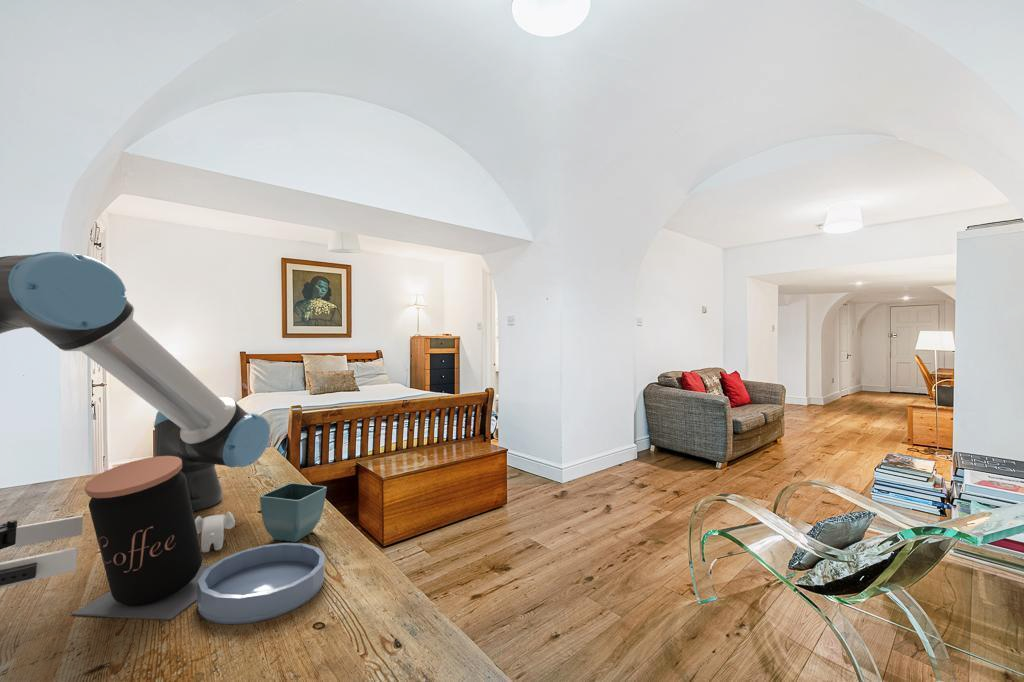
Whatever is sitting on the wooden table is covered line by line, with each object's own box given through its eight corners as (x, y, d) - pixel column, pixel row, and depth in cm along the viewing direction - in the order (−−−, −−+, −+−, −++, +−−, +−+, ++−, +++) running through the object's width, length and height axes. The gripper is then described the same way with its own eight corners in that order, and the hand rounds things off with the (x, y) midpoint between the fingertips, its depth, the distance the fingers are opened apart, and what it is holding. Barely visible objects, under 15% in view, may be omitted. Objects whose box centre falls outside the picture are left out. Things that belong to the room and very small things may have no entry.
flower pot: (296, 549, 79) (298, 500, 80) (256, 543, 81) (258, 495, 81) (326, 530, 88) (328, 486, 88) (289, 525, 90) (290, 482, 90)
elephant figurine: (234, 535, 84) (235, 504, 85) (233, 551, 78) (235, 518, 78) (191, 542, 81) (193, 510, 81) (187, 560, 74) (188, 526, 74)
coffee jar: (93, 616, 59) (60, 497, 55) (145, 563, 69) (120, 459, 66) (179, 603, 60) (152, 486, 57) (217, 553, 71) (197, 451, 67)
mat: (159, 564, 72) (159, 563, 72) (239, 568, 72) (239, 567, 72) (71, 615, 58) (71, 613, 58) (170, 620, 58) (171, 618, 58)
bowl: (247, 561, 74) (247, 541, 74) (341, 565, 74) (342, 545, 74) (166, 621, 58) (168, 594, 58) (287, 627, 57) (288, 600, 57)
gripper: (-158, 584, 54) (82, 537, 68) (-297, 709, 35) (72, 609, 50) (-153, 523, 54) (85, 490, 68) (-289, 616, 36) (75, 544, 50)
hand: (80, 540), depth 59 cm, fingers open, 13 cm apart
